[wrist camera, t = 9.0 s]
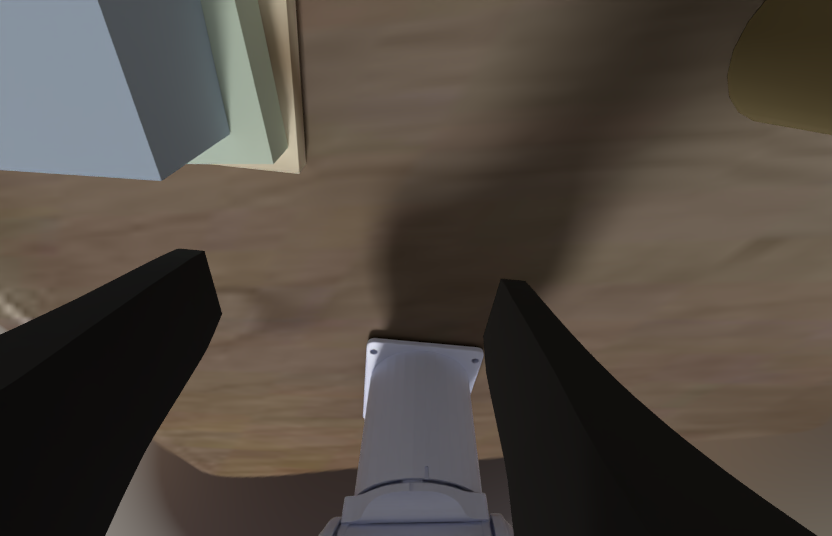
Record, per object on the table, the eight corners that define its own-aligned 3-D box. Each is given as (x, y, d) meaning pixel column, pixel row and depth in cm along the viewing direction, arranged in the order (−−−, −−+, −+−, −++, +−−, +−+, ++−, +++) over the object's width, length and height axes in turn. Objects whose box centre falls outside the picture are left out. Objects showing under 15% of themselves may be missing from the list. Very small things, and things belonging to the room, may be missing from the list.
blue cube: (230, 134, 14) (161, 180, 10) (108, 125, 14) (-5, 169, 10) (197, -16, 11) (88, -25, 8) (46, -28, 11) (-135, -43, 8)
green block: (288, 147, 16) (273, 164, 15) (130, 147, 16) (99, 163, 15) (243, -66, 12) (216, -75, 11) (34, -65, 12) (-25, -73, 11)
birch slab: (309, 158, 19) (299, 174, 17) (124, 137, 18) (95, 151, 17) (295, -85, 13) (278, -96, 12) (33, -124, 13) (-23, -141, 11)
